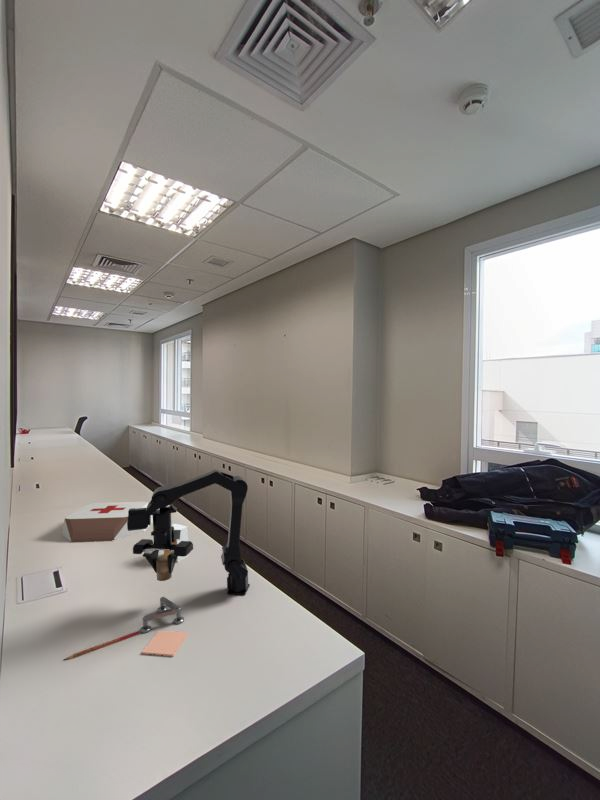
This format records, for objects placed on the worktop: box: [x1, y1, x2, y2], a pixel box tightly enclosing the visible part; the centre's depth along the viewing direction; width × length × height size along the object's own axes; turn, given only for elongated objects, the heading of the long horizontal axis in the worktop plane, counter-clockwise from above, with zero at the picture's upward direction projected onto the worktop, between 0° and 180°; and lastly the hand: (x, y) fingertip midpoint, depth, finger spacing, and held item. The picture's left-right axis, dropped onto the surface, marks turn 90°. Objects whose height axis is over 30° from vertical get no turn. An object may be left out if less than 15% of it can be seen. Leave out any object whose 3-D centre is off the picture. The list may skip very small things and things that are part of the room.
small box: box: [163, 523, 190, 563], centre depth 158 cm, size 8×6×13 cm
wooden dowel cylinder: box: [156, 556, 173, 582], centre depth 124 cm, size 5×5×6 cm
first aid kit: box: [61, 501, 153, 543], centre depth 194 cm, size 34×41×10 cm
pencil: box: [63, 630, 140, 661], centre depth 105 cm, size 19×1×1 cm, turn 124°
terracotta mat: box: [141, 630, 189, 657], centre depth 105 cm, size 9×9×1 cm
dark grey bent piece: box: [139, 596, 185, 634], centre depth 116 cm, size 11×13×4 cm
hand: (164, 572), depth 124 cm, fingers closed on wooden dowel cylinder, 5 cm apart
